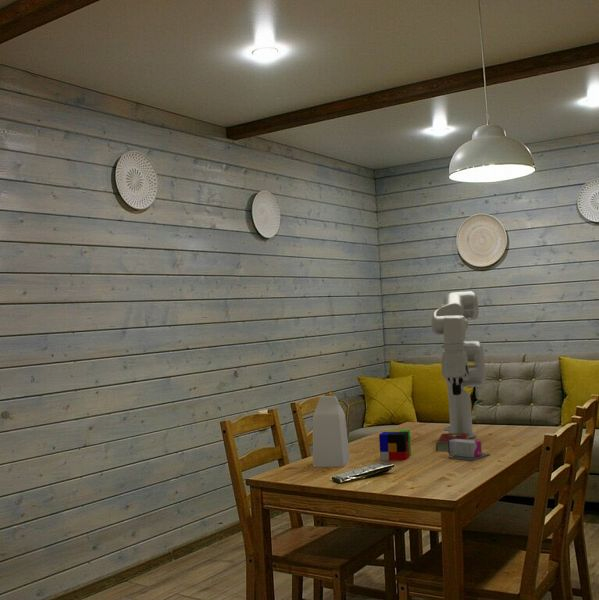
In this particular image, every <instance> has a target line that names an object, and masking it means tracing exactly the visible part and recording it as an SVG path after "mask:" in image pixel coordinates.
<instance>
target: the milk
mask: <svg viewBox="0 0 599 600" xmlns="http://www.w3.org/2000/svg"><path fill="white" fill-rule="evenodd" d="M315 407H316V408H315V410H314V413H313V415H312V467H313V468H316V467H317V468H318V467H319V468H320V467H324V468H325V467H329V468H332V467H333V468H335V467H336V468H337V467H339V468H342V467H343V468H344V467H346V465H347V464H348V463H349V462H350V461H351V458H350V449H349V442H348V438H349V437H348V431H347V430H348V429H347V423H346V414H345V411H344V409H343V408H342V406H341V404H340V402H339V400H338V398H337V397H336V395H323V396H319V399H318V401H317V405H316V406H315Z"/></svg>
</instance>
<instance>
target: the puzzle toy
mask: <svg viewBox="0 0 599 600" xmlns="http://www.w3.org/2000/svg"><path fill="white" fill-rule="evenodd" d="M378 436H379V437H378V441H379V456H380V461H402V460H406V461H407V460H408V459H409V458H410V457H411V456H412V448H411V431H410V430H407V429H406V430H405V429H404V430H403V429H402V430H399V429H397V430H396V429H394V430H393V429H391V430H390V429H389V430H387V429H386V430H384V431H382V432H381V433H380V434H378Z"/></svg>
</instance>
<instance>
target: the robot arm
mask: <svg viewBox="0 0 599 600" xmlns="http://www.w3.org/2000/svg"><path fill="white" fill-rule="evenodd" d="M442 301H443V303H441V304H440V305H439V307H438V308H437V309H436V310H434V311H433V313H432V315H431V316H432V317H431V329H432V330H431V331H432V332H433V333H434V335H437V336H438V335H439V336H441V335H443V345H442V346H441V347H442V349H443V350H444V351H442V355H441V375H442V377H443V379H444V380H445V382H446V383H445V384H446V387H447V395H448V397H447V398H448V411H449V426H446V425H445V426H444V428H443V431H444V432H448V433H470V434H469V439H473V438H476V437H477V433H476V432H473V421H472V404H471V401H472V400H471V395H470V394H469V392H468V391H467V390H465V388H469V387H470V388H471V387H474V388H475V387H482V386H484V385H485V384H486V379H487V376H486V365H485V363H486V362H485V351H484V346H483V344H482V342H481V341H478V340H467V339H466V337H467V336H466V331H467V330H468V329H469V322H468V321H475V320H477V319H478V317H479V313H480V312H479V310H480V307H479V300H478V296H477V294H476V293H475V292H474V291H472V290H470V291H451V292H448V293H447V294H446V295H445V296H444V297H443V300H442ZM469 363H472V364H469Z"/></svg>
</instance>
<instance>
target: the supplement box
mask: <svg viewBox="0 0 599 600" xmlns="http://www.w3.org/2000/svg"><path fill="white" fill-rule="evenodd" d="M448 448H449V451H448V456H463V457H472V458H474V457H478V456H481V455H482V453H483V452H482V441H481V440H475V439H469V440H466V439H457V438H456V439H451V440H448Z"/></svg>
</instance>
